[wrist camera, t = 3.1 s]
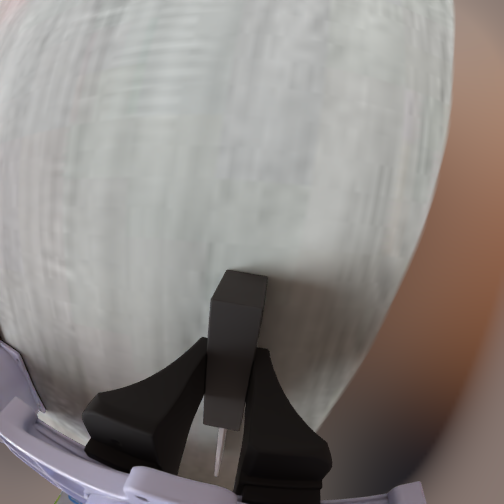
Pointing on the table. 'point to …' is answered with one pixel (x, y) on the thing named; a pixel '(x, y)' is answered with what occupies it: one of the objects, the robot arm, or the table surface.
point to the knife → (231, 351)
